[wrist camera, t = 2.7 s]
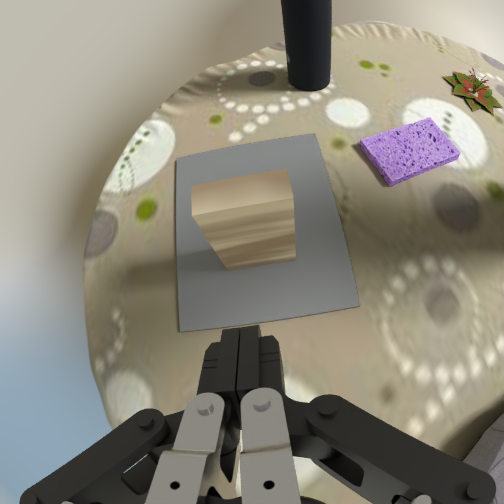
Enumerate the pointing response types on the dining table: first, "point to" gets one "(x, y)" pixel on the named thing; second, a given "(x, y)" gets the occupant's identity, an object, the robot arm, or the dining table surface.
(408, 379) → the dining table surface
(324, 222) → the rubber mat
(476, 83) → the green leafy rosette
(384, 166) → the sponges
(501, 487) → the small grey backpack
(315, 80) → the black water bottle
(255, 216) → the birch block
